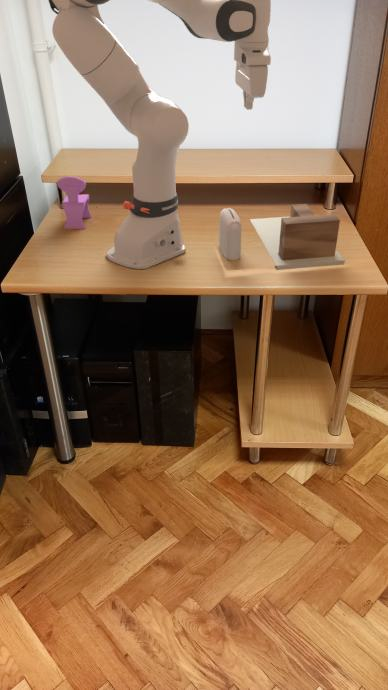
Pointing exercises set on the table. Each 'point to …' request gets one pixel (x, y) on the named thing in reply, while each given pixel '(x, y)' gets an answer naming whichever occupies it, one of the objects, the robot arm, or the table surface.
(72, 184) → the toy chair
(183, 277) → the table surface
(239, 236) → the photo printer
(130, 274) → the table surface
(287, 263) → the board
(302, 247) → the t block
